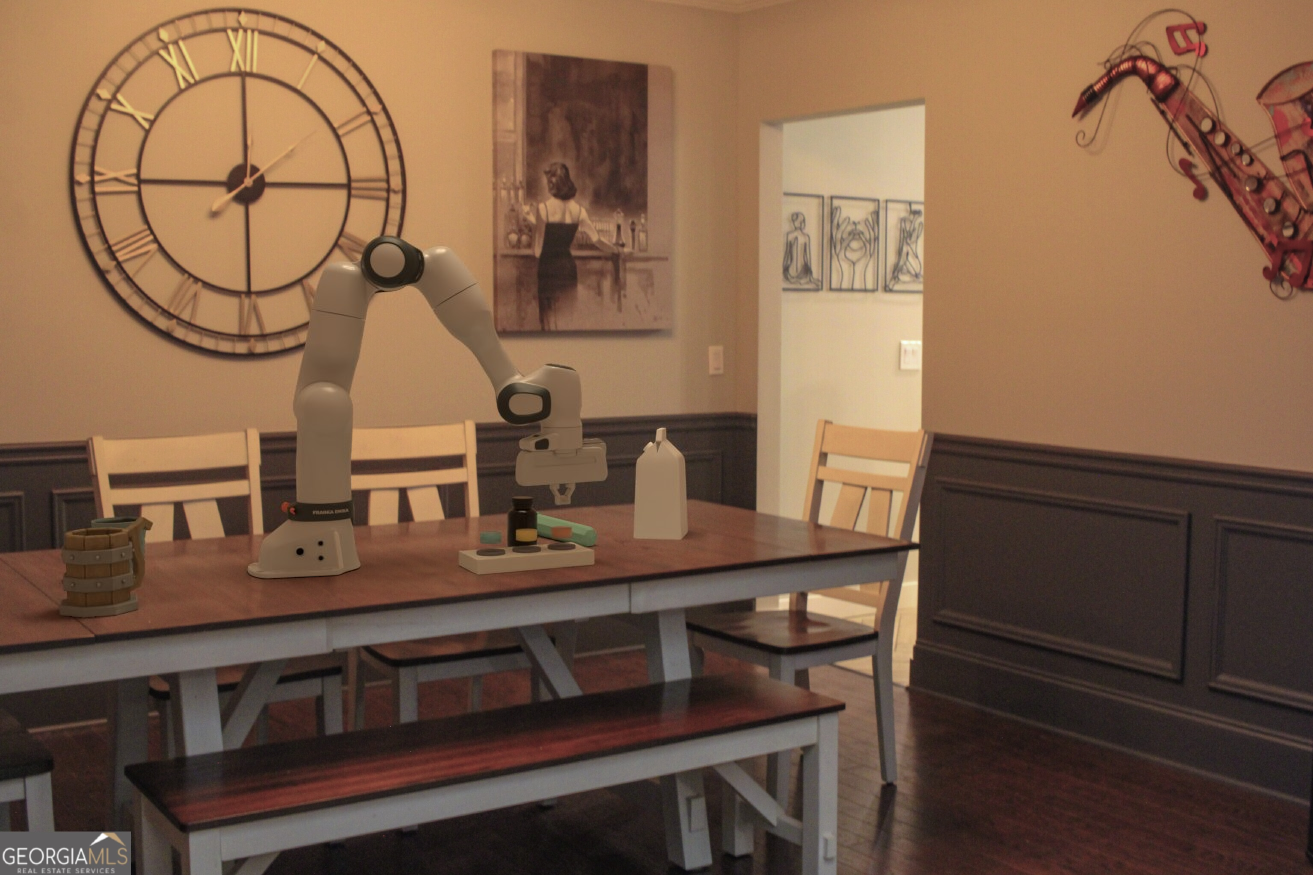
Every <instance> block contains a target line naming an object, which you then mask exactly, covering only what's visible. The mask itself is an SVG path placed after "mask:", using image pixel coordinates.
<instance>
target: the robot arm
mask: <svg viewBox="0 0 1313 875" xmlns="http://www.w3.org/2000/svg"><path fill="white" fill-rule="evenodd" d="M406 287H413V288H415V289H417V290H418V291H419V292H420V293H421V295H423V297H424V298H425V300H426V301H427V303H428V305H429V306H430V308H431V310H432V312H433V313H434V315H435V317H436V318H437V319H438V320H439V322H440V323H441V325H442V326H443V327H444V328H445V329H446V331H447V332H448V333H449V334H450V335H451V336H452V337H453V338H455V339H456V340H458V341H459V342H460V343H462V344H463V345H464V346H465V347H466V348H468V350H469V351H470V352H471V353H472V354H473V356H475V359H476V360H477V361H478V363H479V364H480V366H481V368H482V370H483V371H484V373H485V374H486V376H487V377H488V379H489V381H490V382H491V384H492V387H493V389H494V392H495V394H494V395H495V402H496V408H497V412H498V413H499V416H500V417H501V419H503V420H504V422H507V423H508V424H510V425H513V426H519V427H520V426H522V427H523V426H527V425H529V424H532V423H537V422H539V423H540V431H538V432H536V433H533V434H531V435H528V436H526V437H523V438H521V439H520V440H519V442H518V443H519V444H518V445H519V448H520V449H521V450H520V452H518V455H517V457H516V462H515V481H516V483H517V484H518V485H519V486H522V487H532V486H533V487H534V486H542V485H543V486H544V485H545V486H546V485H547V486H548V485H549V490H550V491H551V492H552V495H553V496H554V504H555V505H556V506H561V505H563V506H564V505H571V499H572V498H571V496H572V494H573V493H574V491H575V490H576V483H587V482H601V481H602V482H604V481H605V480H606V479H607V477H608V474H609V473H608V462H607V458H606V455H607V445H606V442H605V441H604V440H602V439H601V438H600V437H599V438H598V437H595V438H583V422H582V419H581V410H582V406H583V398H582V384H581V378H580V375H579V373H578V372H577V370H576V369H574V368H573V367H571V366H567V365H562V364H557V363H545V364H543V366H541V367H540V368H538V369H537V370H535V371H533V372H532V373H530V374H528V375H525V376H524V375H523V374H522V373H521V372H520V371H519V369H518V368H517V367H516V366H515V363H514V362H513V360H512V359H511V357H510V356H509V354H508V352H507V351H506V349H505V347H504V346H503V344H502V343H501V340H500V338H499V336H498V333H497V331H496V328H495V324H494V318H493V314H492V311H491V308H490V304H489V302H488V299H487V297H486V296H485V292H484V291H483V289H482V287H481V286H480V284H479V283H478V281H477V280H476V278H475V277H474V275H473V273H472V272H471V270H470V269H469V267H468V266H467V265H466V264H465V263H464V261H463V260H462V258H460V257H459V255H458V254H457V253H456V252H455V251H454V250H453V249H452V248H450V247H449V246H445V245H438V246H436V245H435V246H433V247H430V248H427V249H426V250H423V251H422V250H421V249H419V248H417V247H416V246H414V245H412V244H411V243H409V242H407V241H406V240H404V239H402V238H400V237H397V236H394V235H387V234H386V235H380V236H377V237H375V238H374V239H372V240H370V241H369V242H368V243H367V244H366V246H365V247H364V249H363V251H362V254H361V257H360V259H358V260H357V261H352V262H351V261H345V260H340V261H334V262H331V263H329V264H327V265H326V266H325V267H324V269H323V270H322V272H321V274H320V277H319V280H318V284H317V286H316V288H315V289H316V290H315V293H314V296H313V301H312V306H311V311H310V316H309V322H308V327H307V333H306V339H305V345H304V350H303V354H302V357H301V358H302V359H301V363H300V368H299V373H298V377H297V382H296V386H295V392H294V396H293V401H292V411H293V414H294V416H295V418H296V455H295V456H296V458H295V480H296V483H295V486H296V500H295V501H293V502H292V503H290V502H287V501H285V502H283V503H282V504H281V507H280V509H281V510H282V512H284V513H286V519H287V520H285V522H282V524H281V525H279V526H278V527H277V528H276V529H275V530H273V531H272V532H270V534H268V535H267V536H266V537H264V539H263V540H262V542H261V545H260V546H259V548H260V549H259V552H258V562H252V563H250V564H249V565H248V566H247V573H248V574H249V575H251V576H253V577H256V578H261V579H274V578H276V579H277V578H278V579H279V578H280V579H282V578H295V577H296V578H298V577H319V576H321V577H323V576H337V575H341V574H343V573H346V572H349V571H354V570H356V569H359V568H360V567H361V565H362V564H361V563H360V559H359V556H358V551H357V547H356V541H355V536H354V534H355V533H354V525H355V504H354V499H352V451H353V450H352V449H353V426H354V425H353V424H354V422H353V421H354V405H353V404H354V403H353V401H352V399H351V395H350V394H351V389H352V385H353V381H354V377H355V373H356V369H357V366H358V362H359V359H360V355H361V348H362V342H363V337H364V331H365V325H366V320H367V312H368V309H369V304H370V300H371V298H372V296H373V295H374V294H380V293H392V292H397V291H401V290H402V289H404V288H406ZM560 484H561V485H562V484H565V488H567V489H566V491H565V493H564V494H563V495H561V494H560V492H559V489H560Z"/></svg>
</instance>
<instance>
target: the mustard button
mask: <svg viewBox="0 0 1313 875" xmlns="http://www.w3.org/2000/svg"><path fill="white" fill-rule="evenodd" d="M516 540H517V541H535V540H537V541H538V535H537V530H536V529H518V530H516Z"/></svg>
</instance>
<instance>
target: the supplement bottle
mask: <svg viewBox="0 0 1313 875" xmlns="http://www.w3.org/2000/svg"><path fill="white" fill-rule="evenodd" d="M511 506H512V508H510V509H509V510H508V511H507V513H506V514H507V519H506V520H507V521H506V523H507V524H506V532H507V533H506V541H507V542H506V547H517V546H530V545H538V539H537V540H535V541H517V540H516V530H518V529H536V530H537V512H538V511H537V510H536V509H535V508H533V507H534V497H532V496H522V495H521V496H520V495H519V496H512V497H511Z"/></svg>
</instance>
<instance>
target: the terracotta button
mask: <svg viewBox="0 0 1313 875" xmlns="http://www.w3.org/2000/svg"><path fill="white" fill-rule="evenodd" d="M551 537H552V538H558V539H564V538H571V537H572V527H568V526H556V527H551Z"/></svg>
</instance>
